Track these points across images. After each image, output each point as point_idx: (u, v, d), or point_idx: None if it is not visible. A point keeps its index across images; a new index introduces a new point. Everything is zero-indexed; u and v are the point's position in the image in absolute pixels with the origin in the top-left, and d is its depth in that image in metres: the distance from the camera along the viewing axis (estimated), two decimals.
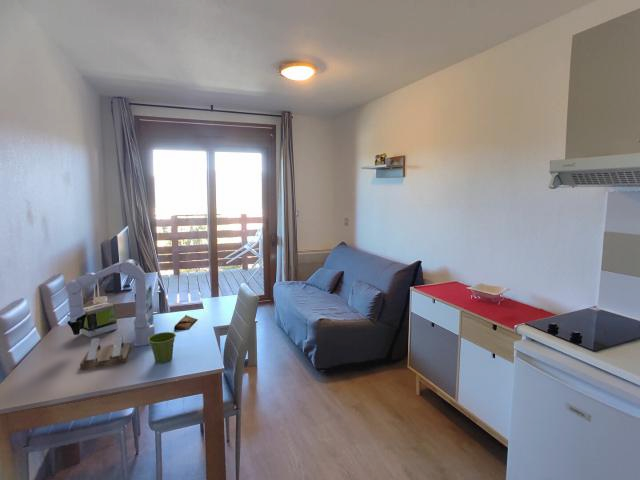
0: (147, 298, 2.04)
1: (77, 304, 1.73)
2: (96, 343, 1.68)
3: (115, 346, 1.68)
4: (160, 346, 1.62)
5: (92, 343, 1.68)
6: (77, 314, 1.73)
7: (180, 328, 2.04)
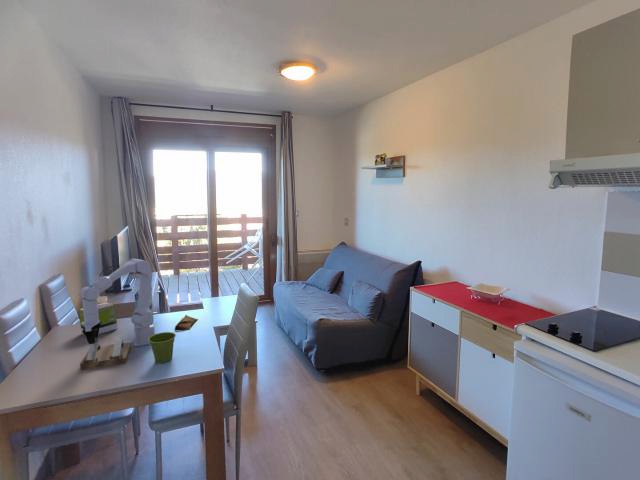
0: None
1: (96, 311, 1.65)
2: (96, 343, 1.68)
3: (115, 346, 1.68)
4: (160, 346, 1.62)
5: None
6: (92, 322, 1.64)
7: (181, 328, 2.04)
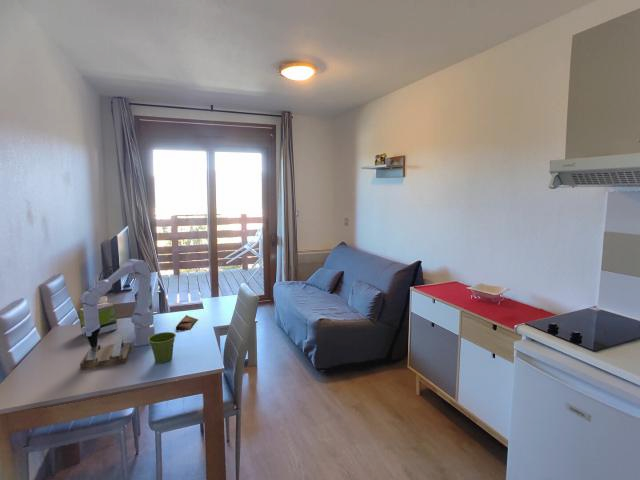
0: None
1: (96, 315, 1.65)
2: None
3: (115, 346, 1.68)
4: (160, 346, 1.62)
5: None
6: (92, 327, 1.64)
7: (182, 328, 2.04)
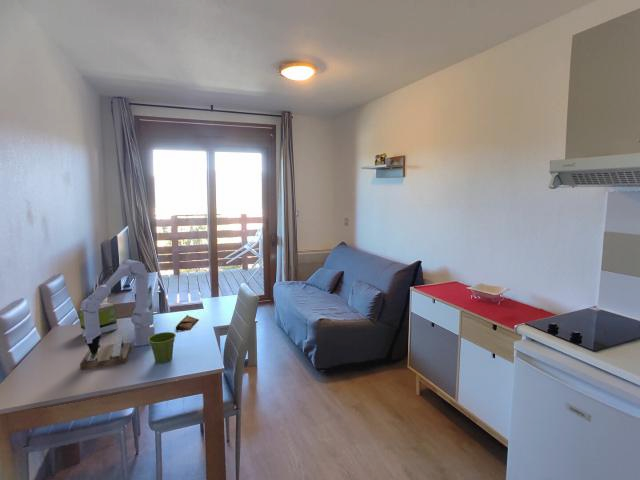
0: None
1: (97, 322, 1.66)
2: None
3: (115, 346, 1.68)
4: (160, 346, 1.62)
5: None
6: (93, 334, 1.65)
7: (182, 328, 2.04)
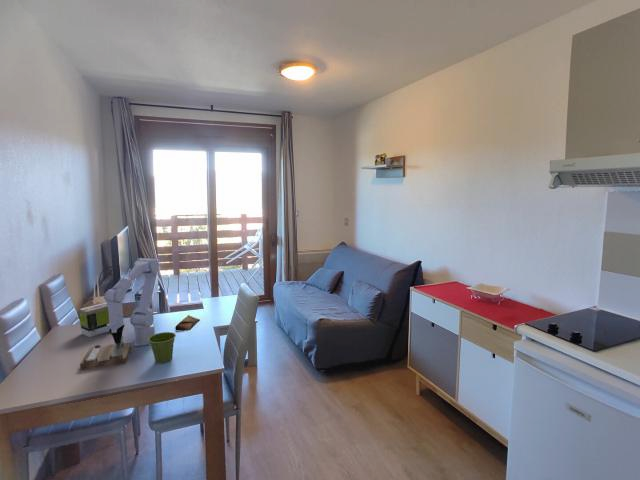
0: None
1: (122, 312, 1.70)
2: (97, 350, 1.70)
3: (115, 346, 1.69)
4: (160, 346, 1.62)
5: (93, 350, 1.70)
6: (117, 324, 1.67)
7: (181, 328, 2.04)
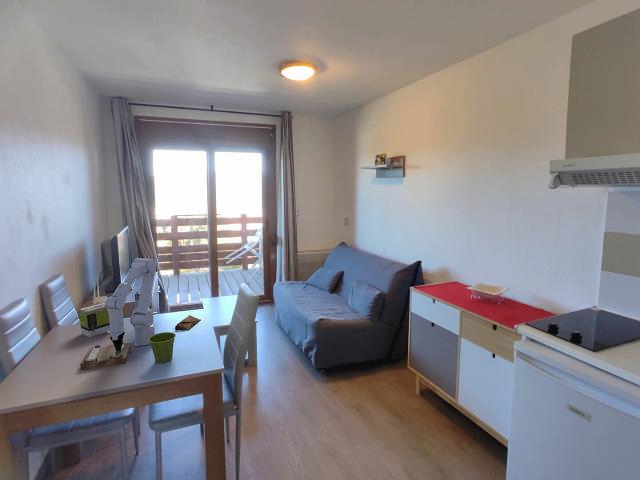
0: None
1: (122, 319, 1.70)
2: (97, 350, 1.70)
3: (116, 350, 1.70)
4: (160, 346, 1.62)
5: (93, 350, 1.70)
6: (118, 331, 1.68)
7: (181, 328, 2.04)
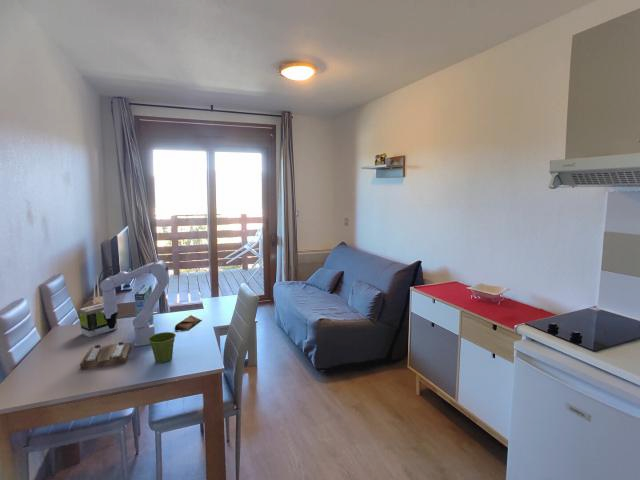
0: (147, 298, 2.04)
1: (110, 301, 1.79)
2: (97, 350, 1.70)
3: (116, 350, 1.70)
4: (160, 346, 1.62)
5: (93, 350, 1.70)
6: (111, 311, 1.80)
7: (180, 328, 2.04)
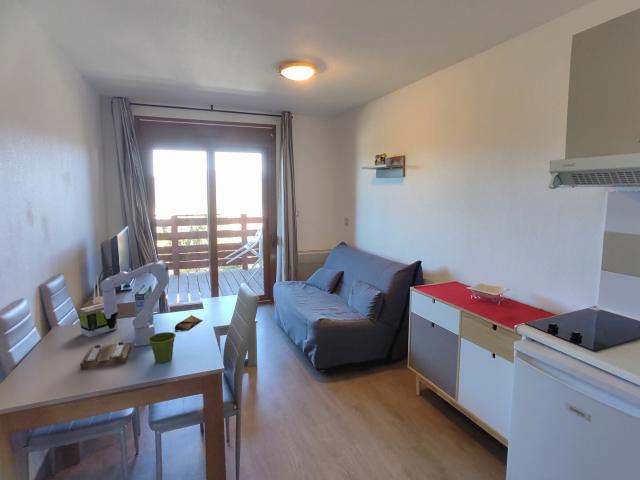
0: (147, 298, 2.04)
1: (110, 301, 1.79)
2: (97, 350, 1.70)
3: (116, 350, 1.70)
4: (160, 346, 1.62)
5: (93, 350, 1.70)
6: (111, 311, 1.80)
7: (180, 328, 2.04)
